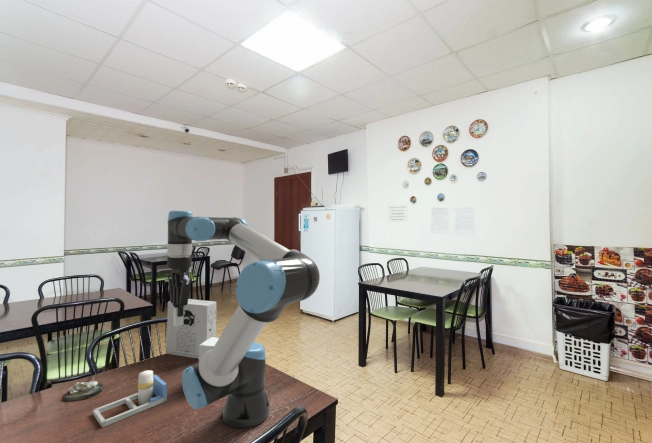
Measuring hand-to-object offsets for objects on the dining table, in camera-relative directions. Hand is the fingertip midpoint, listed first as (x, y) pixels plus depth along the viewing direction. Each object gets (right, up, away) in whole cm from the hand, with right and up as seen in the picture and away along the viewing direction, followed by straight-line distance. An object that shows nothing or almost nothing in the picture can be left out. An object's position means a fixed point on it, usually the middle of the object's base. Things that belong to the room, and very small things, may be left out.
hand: (178, 325), depth 105 cm
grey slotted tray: (-16, -28, 0) cm, 32 cm away
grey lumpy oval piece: (-38, -28, +8) cm, 48 cm away
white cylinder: (-13, -28, +4) cm, 31 cm away
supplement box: (+5, -29, +20) cm, 36 cm away
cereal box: (-14, -28, +43) cm, 53 cm away
